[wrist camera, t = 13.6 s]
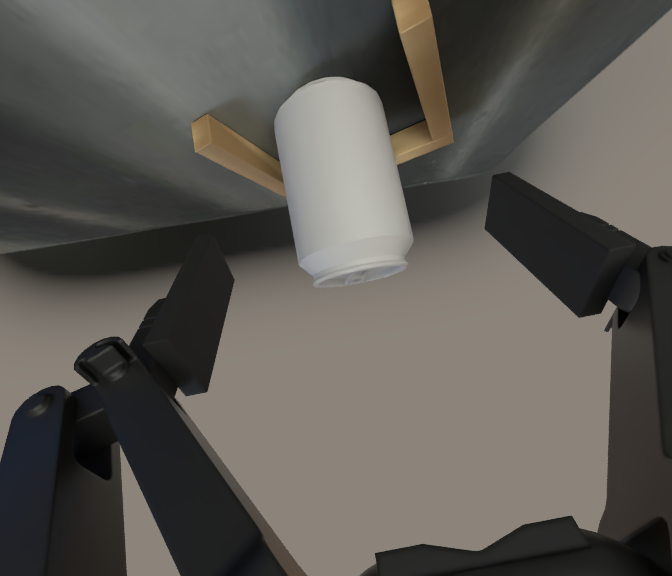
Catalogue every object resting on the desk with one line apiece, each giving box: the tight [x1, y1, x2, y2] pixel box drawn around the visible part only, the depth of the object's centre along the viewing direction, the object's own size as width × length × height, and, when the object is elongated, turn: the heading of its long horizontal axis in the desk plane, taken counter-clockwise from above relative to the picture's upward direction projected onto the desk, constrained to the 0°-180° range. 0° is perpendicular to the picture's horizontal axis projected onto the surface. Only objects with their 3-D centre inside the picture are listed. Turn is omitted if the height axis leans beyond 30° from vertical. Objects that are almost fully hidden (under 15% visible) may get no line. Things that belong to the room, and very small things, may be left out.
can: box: [274, 77, 414, 288], centre depth 21 cm, size 8×8×12 cm
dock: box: [191, 0, 454, 198], centre depth 22 cm, size 15×12×2 cm
